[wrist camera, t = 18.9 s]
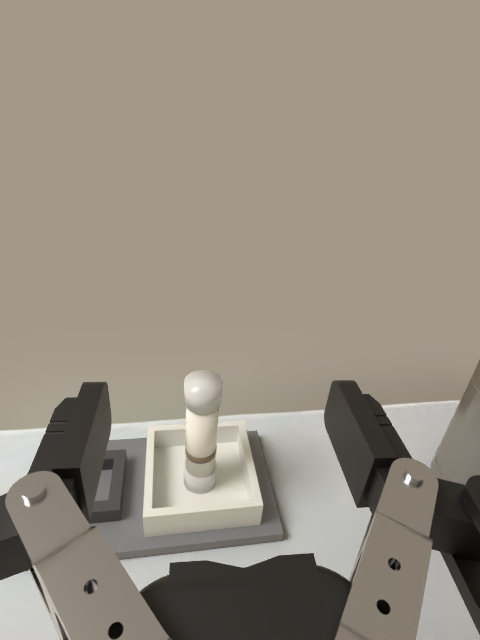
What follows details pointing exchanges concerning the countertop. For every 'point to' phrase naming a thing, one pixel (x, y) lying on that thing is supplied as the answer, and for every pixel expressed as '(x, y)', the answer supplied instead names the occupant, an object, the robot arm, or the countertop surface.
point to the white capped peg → (201, 429)
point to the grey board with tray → (184, 495)
